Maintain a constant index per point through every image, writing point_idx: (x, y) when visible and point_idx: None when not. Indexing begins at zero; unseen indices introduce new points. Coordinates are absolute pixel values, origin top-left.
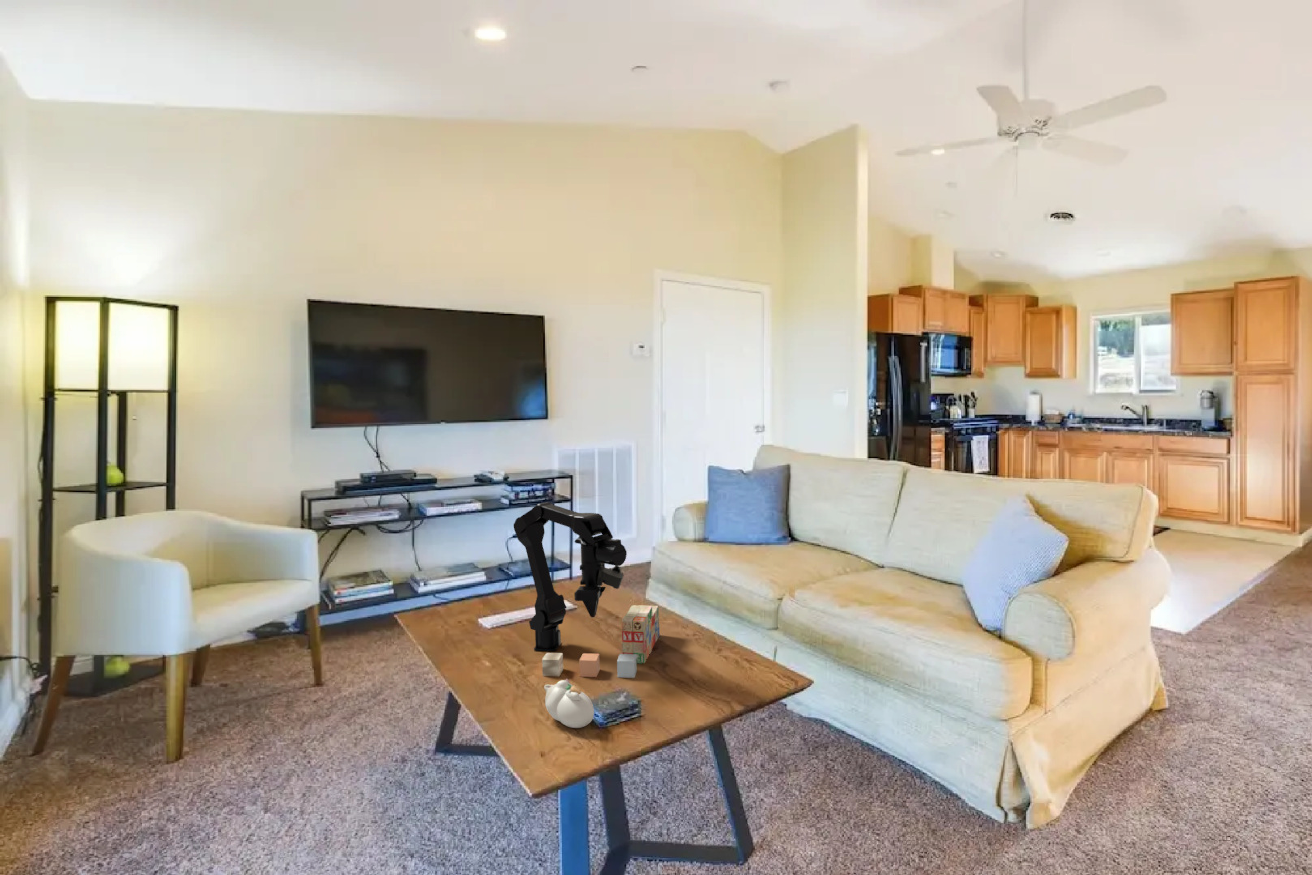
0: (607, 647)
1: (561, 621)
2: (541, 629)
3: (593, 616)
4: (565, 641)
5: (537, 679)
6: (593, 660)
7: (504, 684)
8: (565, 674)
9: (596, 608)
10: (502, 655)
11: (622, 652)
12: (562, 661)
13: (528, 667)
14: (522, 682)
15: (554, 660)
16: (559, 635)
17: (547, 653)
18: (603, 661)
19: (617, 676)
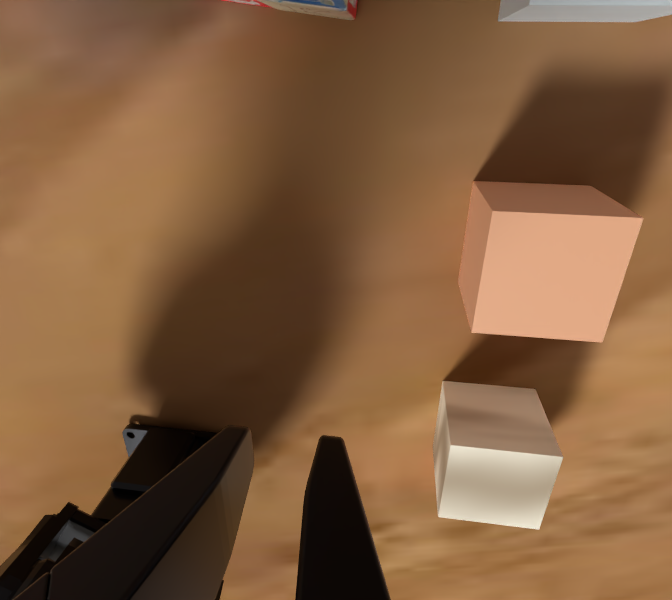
0: (123, 176)
1: (68, 519)
2: (219, 595)
3: (347, 457)
4: (104, 403)
5: None
6: (632, 240)
7: (582, 567)
8: (518, 363)
9: (207, 503)
10: (294, 589)
11: (345, 11)
12: (458, 412)
13: (414, 510)
14: (577, 517)
15: (556, 473)
16: (147, 466)
17: (447, 511)
18: (343, 172)
19: (639, 20)
